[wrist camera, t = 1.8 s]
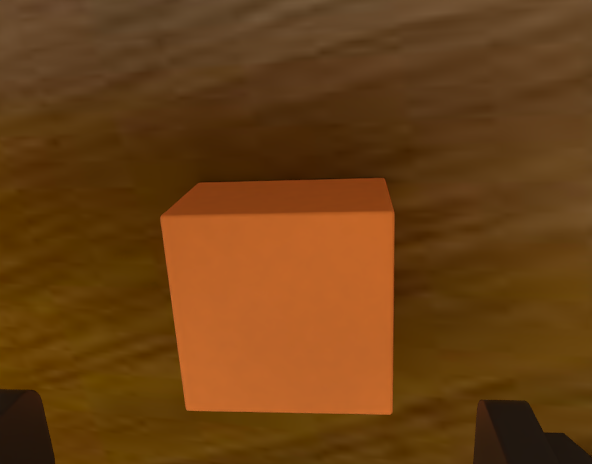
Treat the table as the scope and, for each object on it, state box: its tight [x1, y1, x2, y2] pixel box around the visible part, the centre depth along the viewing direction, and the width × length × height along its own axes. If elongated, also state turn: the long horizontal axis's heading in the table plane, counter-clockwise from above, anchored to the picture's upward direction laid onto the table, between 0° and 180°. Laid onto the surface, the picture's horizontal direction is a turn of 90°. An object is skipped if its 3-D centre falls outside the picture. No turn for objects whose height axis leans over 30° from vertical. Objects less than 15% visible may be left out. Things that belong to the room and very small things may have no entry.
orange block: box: [160, 178, 395, 415], centre depth 15 cm, size 6×6×4 cm
